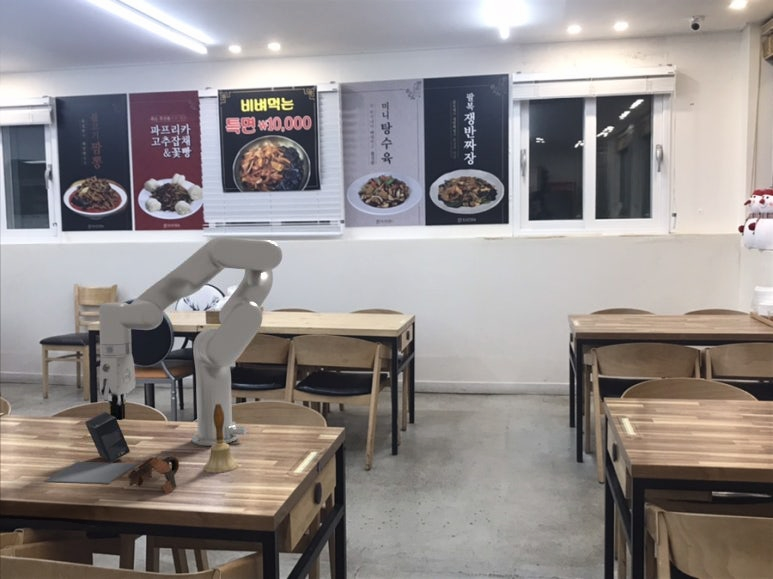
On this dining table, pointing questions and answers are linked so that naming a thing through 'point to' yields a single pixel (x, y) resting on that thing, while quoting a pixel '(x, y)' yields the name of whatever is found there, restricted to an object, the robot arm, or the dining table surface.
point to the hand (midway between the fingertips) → (117, 419)
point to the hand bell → (220, 448)
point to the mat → (91, 472)
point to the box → (107, 437)
